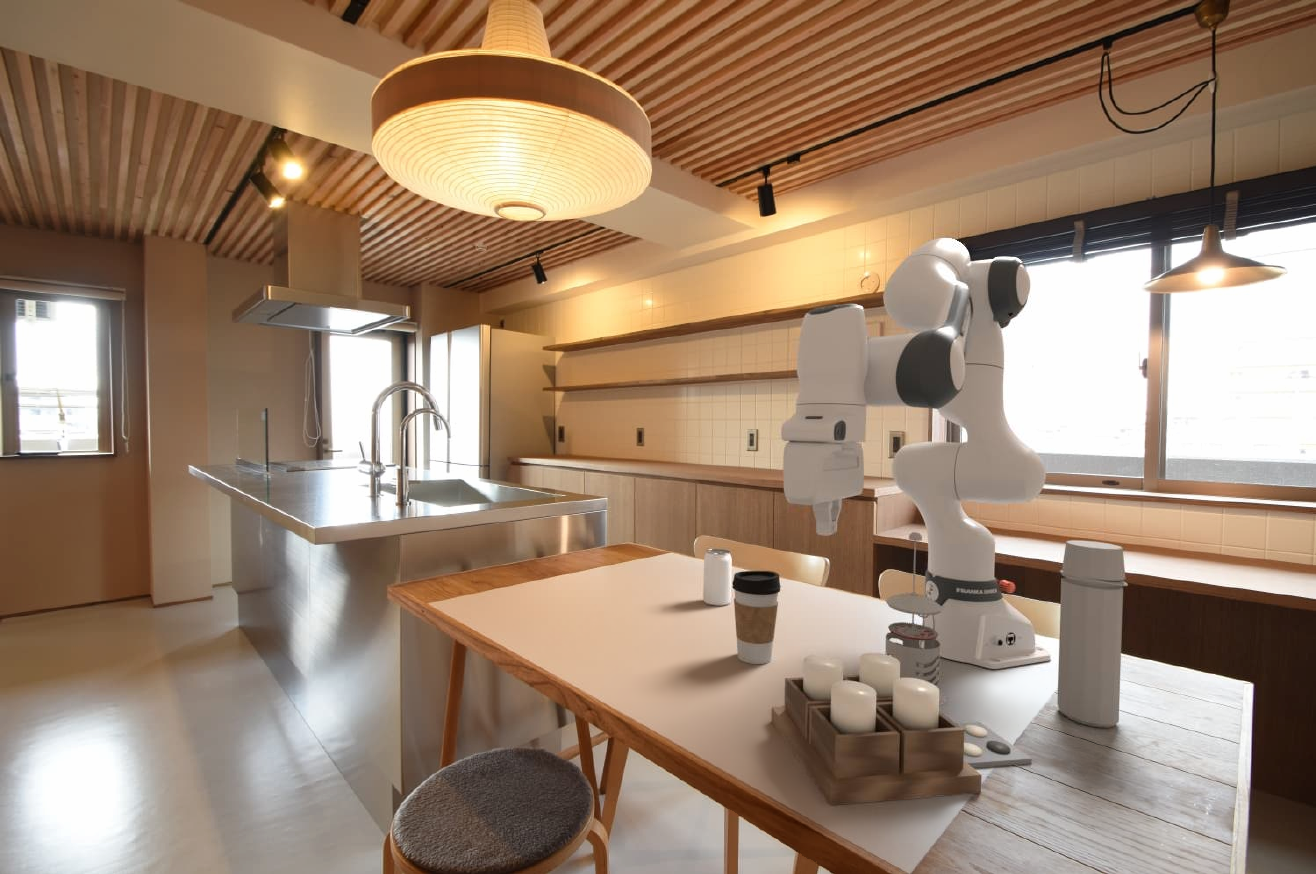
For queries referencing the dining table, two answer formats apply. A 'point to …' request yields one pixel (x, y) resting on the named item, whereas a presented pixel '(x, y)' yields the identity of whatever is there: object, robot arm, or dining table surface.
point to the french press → (915, 635)
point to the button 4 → (915, 704)
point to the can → (717, 577)
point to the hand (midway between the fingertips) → (826, 534)
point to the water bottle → (1091, 632)
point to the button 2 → (853, 707)
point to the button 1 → (820, 676)
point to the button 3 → (879, 672)
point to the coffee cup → (755, 614)
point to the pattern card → (989, 747)
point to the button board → (873, 753)
